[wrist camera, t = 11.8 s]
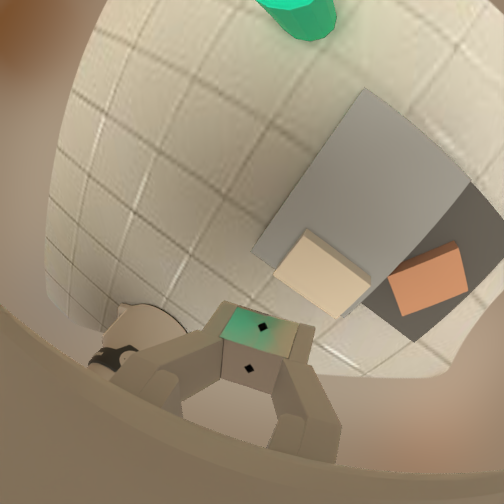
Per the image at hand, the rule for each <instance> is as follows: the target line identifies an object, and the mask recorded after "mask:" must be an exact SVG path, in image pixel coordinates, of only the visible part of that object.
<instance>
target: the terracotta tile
mask: <svg viewBox="0 0 504 504" xmlns="http://www.w3.org/2000/svg"><path fill="white" fill-rule="evenodd" d="M387 278H388V280H389V283H390V285H391V288H392V290H393V293H394V295H395V298H396V301H397V303H398V306H399V309H400V312H401V314H402V316H405V315H408V314H410V313H413V312H416V311H419V310H421V309H424V308H427V307H429V306H432V305H435V304H437V303H440V302H442V301H445V300H447V299H450V298H452V297H455V296H457V295H460V294H462V293H464V292H467V291H468V286H467V281H466V276H465V272H464V268H463V263H462V259H461V255H460V251H459V248H458V246H457V244H456V243H455V241H454V240H453V241H451V242H449V243H447V244H444V245H442V246H440V247H437V248H435V249H432V250H430V251H428V252H425V253H423V254H420V255H418V256H416V257H413V258H411V259H408V260H406V261H403V262H401V263H400V264H399V265H398V266H397V267H396V268H395V269H394V270H393V272H392V273H391V274H390V275H389V276H388V277H387Z"/></svg>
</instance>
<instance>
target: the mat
mask: <svg viewBox="0 0 504 504" xmlns="http://www.w3.org/2000/svg"><path fill="white" fill-rule="evenodd" d="M453 240H454V241H455V243H456V244H457V246H458V248H459V251H460V255H461V259H462V263H463V268H464V272H465V276H466V281H467V286H468V291H467V292H464V293H462V294H460V295H457V296H455V297H452V298H450V299H447V300H445V301H442V302H440V303H437V304H435V305H432V306H429V307H427V308H424V309H421V310H419V311H416V312H413V313H410V314H408V315H405V316H402V314H401V312H400V309H399V306H398V303H397V301H396V298H395V295H394V293H393V290H392V288H391V285H390V283H389V280H388V278H386V279H385V280H384V281H383V282H382V283H381V284H380V285H379V286H378V287H377V288H376V289H375V290H374V291H373V292H371V293H370V294H369V295H368V296H367V297H366V298H365V299H364V300H363V301H362V302H361V303H362V304H363V305H365V306H366V307H367V308H369V309H370V310H372V311H373V312H374V313H376V314H377V315H378V316H380V317H381V318H382V319H384V320H385V321H386V322H388V323H389V324H390V325H391V326H393V327H394V328H395V329H397V330H398V331H399V332H401V333H402V334H403V335H405V336H406V337H407V338H409V339H410V340H411V341H413V342H415V341H417V340H418V339H419V338H420V337H422V336H423V335H424V334H425V333H427V332H428V331H429V330H430V329H431V328H432V327H434V326H435V325H436V324H437V323H438V322H439V321H441V320H442V319H443V318H444V317H445V316H446V315H447V314H448V313H450V312H451V311H452V310H453V309H454V308H455V307H456V306H457V305H458V304H459V303H460V302H461V301H463V300H464V299H465V298H466V297H467V296H468V295H469V294H470V293H471V292H472V291H473V290H474V289H475V288H476V287H477V286H478V285H479V284H480V283H481V282H482V281H483V280H484V279H485V278H486V276H487V275H488V274H489V273H490V272H491V271H492V270H493V269H494V268H495V267H496V266H497V265H498V263H499V262H500V261H501V260H502V259H503V258H504V220H503V219H502V218H501V216H500V215H499V214H498V213H497V211H496V210H495V209H494V208H493V206H492V205H491V204H490V203H489V202H488V201H487V199H486V198H485V197H484V196H483V195H482V194H481V192H480V191H479V190H478V189H477V188H476V187H475V186H474V185H473V184H472V183H471V181H470V183H469V184H468V185H467V187H466V188H465V189H464V190H463V192H462V193H461V194H460V196H459V197H458V198H457V199H456V201H455V202H454V203H453V204H452V205H451V207H450V208H449V209H448V210H447V212H446V213H445V214H444V215H443V216H442V218H441V219H440V220H439V221H438V222H437V223H436V225H435V226H434V227H433V228H432V229H431V230H430V231H429V233H428V234H427V235H426V236H425V237H424V238H423V239H422V240H421V242H420V243H419V244H418V245H417V246H416V247H415V248H414V249H413V250H412V251H411V253H410V254H409V255H408V256H407V257H406V258H405V259H404V260H403V261H406V260H408V259H411V258H413V257H416V256H418V255H420V254H423V253H425V252H428V251H430V250H432V249H435V248H437V247H440V246H442V245H444V244H447V243H449V242H451V241H453ZM403 261H402V262H403Z"/></svg>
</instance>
